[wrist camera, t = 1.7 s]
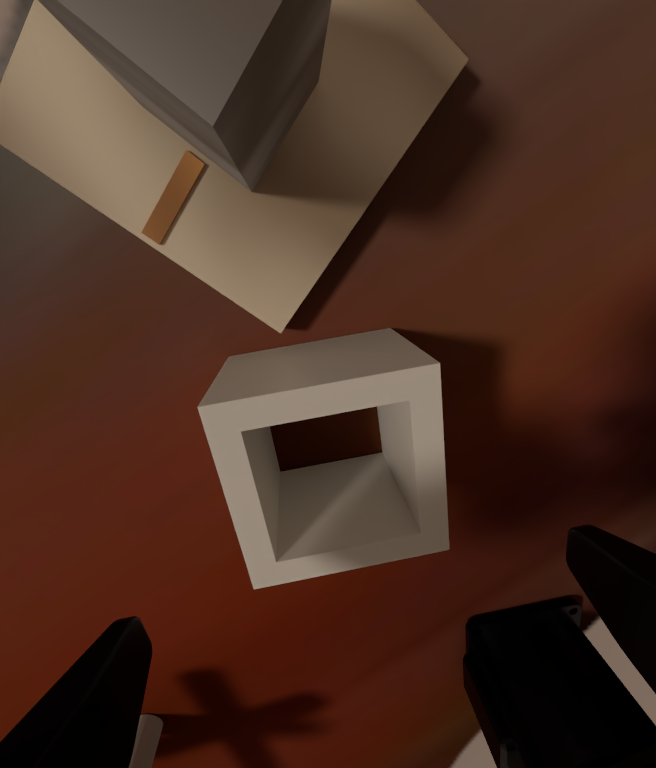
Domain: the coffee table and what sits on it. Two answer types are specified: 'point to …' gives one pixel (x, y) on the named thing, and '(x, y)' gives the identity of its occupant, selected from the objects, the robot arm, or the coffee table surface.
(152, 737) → the pipe connector
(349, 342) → the square tube segment
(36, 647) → the coffee table surface
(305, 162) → the square peg base
